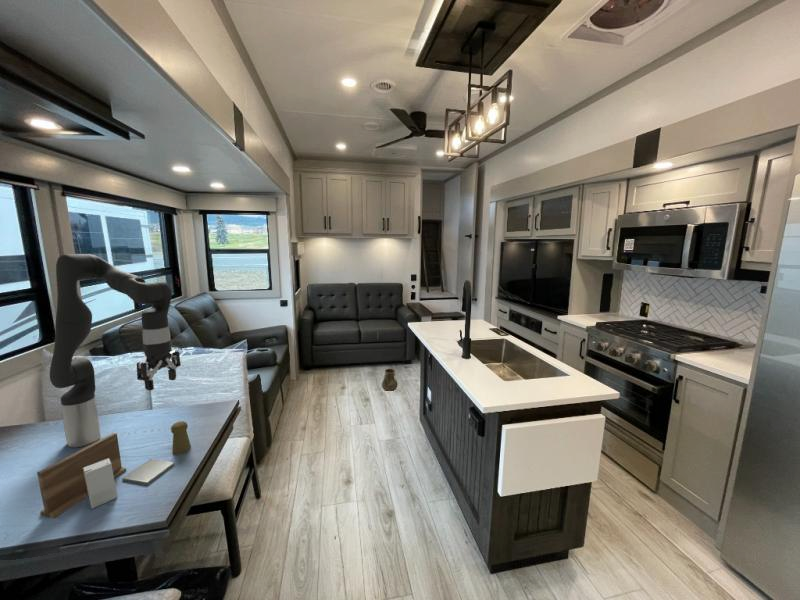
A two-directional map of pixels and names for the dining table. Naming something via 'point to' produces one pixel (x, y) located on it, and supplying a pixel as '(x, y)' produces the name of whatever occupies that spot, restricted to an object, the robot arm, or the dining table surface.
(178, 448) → the olive stepped cylinder
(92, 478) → the skincare box
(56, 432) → the dining table surface
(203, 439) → the dining table surface
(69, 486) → the walnut screen
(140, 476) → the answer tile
